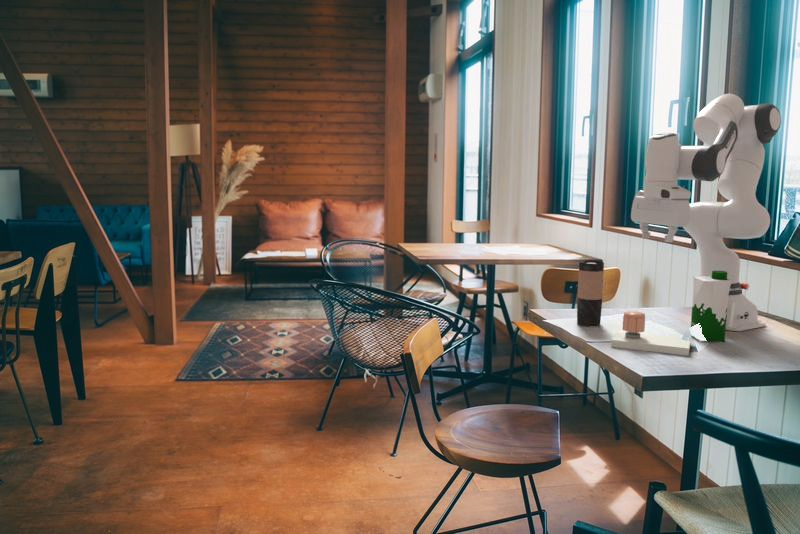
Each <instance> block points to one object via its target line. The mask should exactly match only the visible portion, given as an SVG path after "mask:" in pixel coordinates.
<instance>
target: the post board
mask: <svg viewBox="0 0 800 534" xmlns="http://www.w3.org/2000/svg"><path fill="white" fill-rule="evenodd" d="M682 337H683V336H673V335H663V334H656V333H655V334H654V333H646V332H639V333H634V332H627V331H624V330H617V331H616V332H615V333H614V335H613V337H612V338H611V341H610V347H611V348H618V349H627V350H636V351H644V352H654V353H661V354H662V353H663V354H670V355H671V354H672V355H680V356H689V354H690V349H691V343H690V341H685V340H682Z"/></svg>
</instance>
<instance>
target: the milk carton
mask: <svg viewBox="0 0 800 534" xmlns="http://www.w3.org/2000/svg"><path fill="white" fill-rule="evenodd" d="M692 281H693V287H692V304H691V316H690V317H691V321H690V328H691V327H692V326H694V325H696V324H698V323H700V324H699V325H701V327H702V334H703V335H704V337H705V338H706V340H707V341H708V342H707V343H709V342H710V343H725V342H726V332H727V330H726V319H727V306H728V295H729V290H730V285H731V281H730V280H728V279H727V272H725V271H712V277H706V276H702V277H700V276H693V280H692ZM701 327H700V328H701Z"/></svg>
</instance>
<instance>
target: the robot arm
mask: <svg viewBox="0 0 800 534" xmlns="http://www.w3.org/2000/svg"><path fill="white" fill-rule="evenodd" d="M781 123H782V117H781V113H780V110H779V108H778V107H777V106H776V105H774V104H771V103H760V104H755V105H752V104H751V105H745V103H744V101H743V100H742V99H741V97H740V96H738V95H736V94H734V93H724V94H721V95H720V96H718V97H716V98H714V99H713V100H711V101H710V102H709V103H708V104H707V105H706V106H704V107H703V108H702V109H701V110H700V111H699V112H698V114H697V115H696V117H695V119H694V121H693V131H694V133H695V135H696V137H697V138H698V140H700V141H701V142H703V143H704V144H705V145H704V144H703V145H683V144H681V143H680V141H679V140H680V139H679V136H678V134H677V133H674V132H673V133H672V132H663V133H656V134H653V135H652V136H650V137H649V139H648V141H647V146H646V152H645V162H644V163H645V164H644V166H645V171H646V172H645V177H644V180H643V190H642V189H641V190H638V191H637V192H636V194H635V195H634V198H633V200H632V205H631V212H630V220H631V221H632V222H633V223H635V222H637V223H639V229H640V230H641V238H642V239H646V240H647V239H650V238H651V232H649V228H648V227H650V226H649V224H651V225H660V226H667V230H668V232H667V234H666V235H664V242H665V243H672V242H674V237H675V235H676V233H677V232H678V228H683V230H684V231H685V232H686V233H687V234H689V235H690V236H691V238H692V239H693V240H694V242H695V243H696V245H697V248H698V251H699V255H700V276H699V277H702V276H706V277H712V271H725V272H727V279H728V280H730V281H731V285H730V290H729V295H728V306H727V319H726V331H732V332H733V331H734V332H742V331H747V330H753V329H757V328H763V327H766V325H767V324H766V322H765V321H763V320H760V319H759V314H758V311H759V310H758V307H757V306H756V305H755V303H753V302H752V301H751V300H749V298H748V297H746V296H745V294H743V290H745V291H748V290H749V288H750V284H749V283H746V282H741V283H740V271H741V268H740V267H741V259H740V257H739V255H738V254H737V252H736V251H733V250H732V249H730V248H728V247H727V246H726V244H725V243H724V240H723V238H724V239H725V238H726V239H739V240H748V239H756V238H757V239H759V238H761V237H763V236H764V235H765V234H766V233H767V232H768V229H769V228H770V224H771V216H770V213H769V212H768V210H767V208H766V207H764V206H763V205H762V204H761V203H759V200H758V199H757V196H756V192H757V186H758V184H759V180H760V178H761V175H762V171H763V169H764V165H765V157H766V156H765V154H766V149H765V147H764V145H767V144H769V143H771V141H772V140H773V138H774V137H775V136H776V134H777V133H778V131H779V130H780V128H781ZM717 179H718V181H717V184H716V185H717V191H718V192H719V194H720V195H721V196H722V197H723V198H725V199H726V200H728V201H724V202H723V201H709V200H707V201H705V200H704V201H696V202H692V203H690V201H689V199H690V198H691V195H692V194H691V191H690V190H688V189H686V188H684V187H682V186H680V185H678V181H679V180H683V181H684V180H685V181H688V180H689V181H691V180H692V181H702V182H714V181H715V180H717Z"/></svg>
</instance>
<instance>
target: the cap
mask: <svg viewBox="0 0 800 534" xmlns="http://www.w3.org/2000/svg"><path fill="white" fill-rule="evenodd" d="M645 325H646V314H645V312H639V311H633V310H631V311H624V312H623V317H622V331H627V332H634V333H645V330H646V329H645V328H646V326H645Z"/></svg>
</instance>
